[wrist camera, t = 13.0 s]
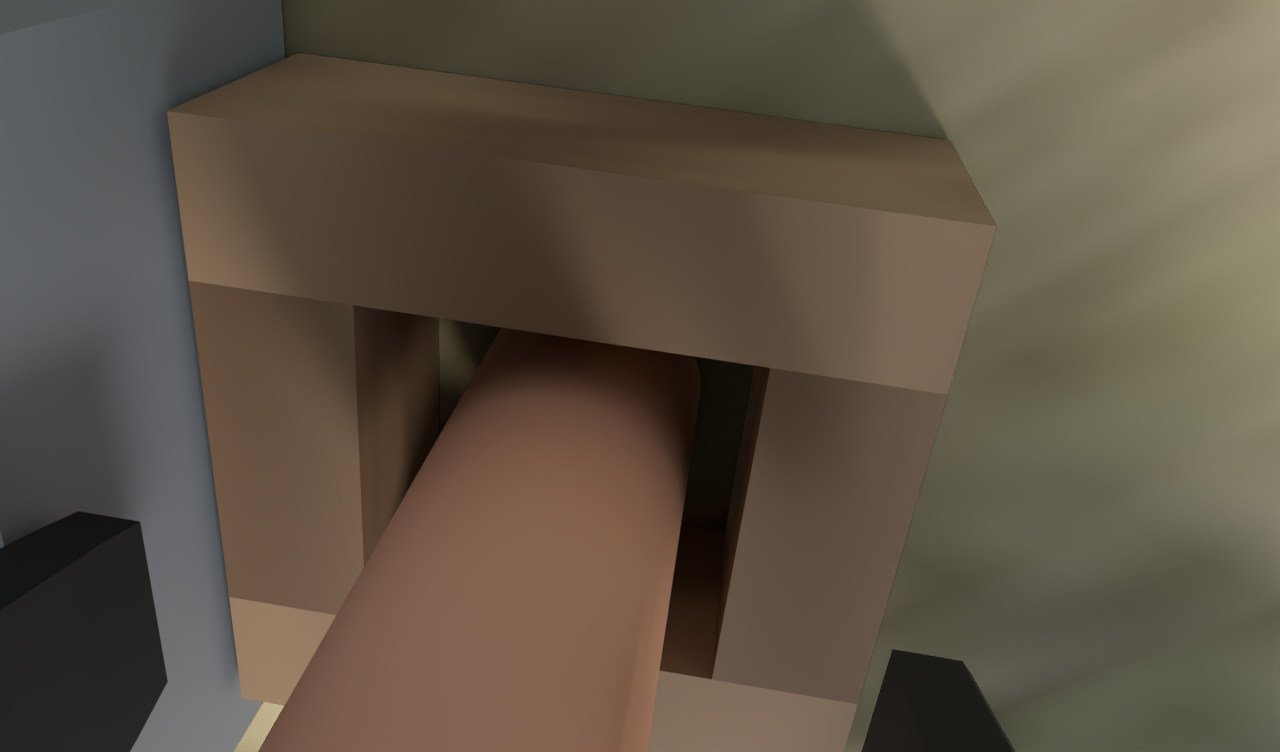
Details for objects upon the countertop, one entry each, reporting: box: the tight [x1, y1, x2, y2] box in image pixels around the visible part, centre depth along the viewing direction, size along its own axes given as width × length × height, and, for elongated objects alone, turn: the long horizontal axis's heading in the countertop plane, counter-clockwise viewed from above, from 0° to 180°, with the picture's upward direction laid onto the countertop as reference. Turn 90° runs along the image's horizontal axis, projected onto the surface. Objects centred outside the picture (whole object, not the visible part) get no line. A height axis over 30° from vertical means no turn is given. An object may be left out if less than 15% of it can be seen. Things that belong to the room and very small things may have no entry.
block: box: [167, 53, 997, 752], centre depth 13 cm, size 8×8×3 cm
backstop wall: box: [0, 0, 285, 752], centre depth 12 cm, size 2×10×6 cm, turn 174°
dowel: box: [258, 328, 700, 752], centre depth 11 cm, size 3×3×8 cm
